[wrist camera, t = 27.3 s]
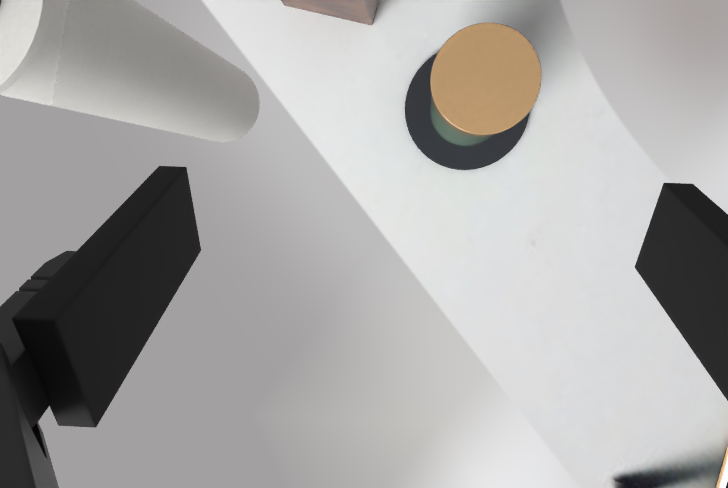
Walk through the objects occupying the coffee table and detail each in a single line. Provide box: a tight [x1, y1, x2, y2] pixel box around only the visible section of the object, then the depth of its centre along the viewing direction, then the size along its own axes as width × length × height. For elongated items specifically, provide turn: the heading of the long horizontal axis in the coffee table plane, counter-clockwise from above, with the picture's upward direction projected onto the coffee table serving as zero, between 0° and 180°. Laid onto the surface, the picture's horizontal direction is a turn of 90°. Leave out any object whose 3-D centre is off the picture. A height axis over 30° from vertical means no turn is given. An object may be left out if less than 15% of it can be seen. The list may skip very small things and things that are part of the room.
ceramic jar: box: [430, 23, 541, 146], centre depth 37 cm, size 6×6×12 cm
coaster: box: [405, 53, 529, 170], centre depth 43 cm, size 10×10×1 cm
